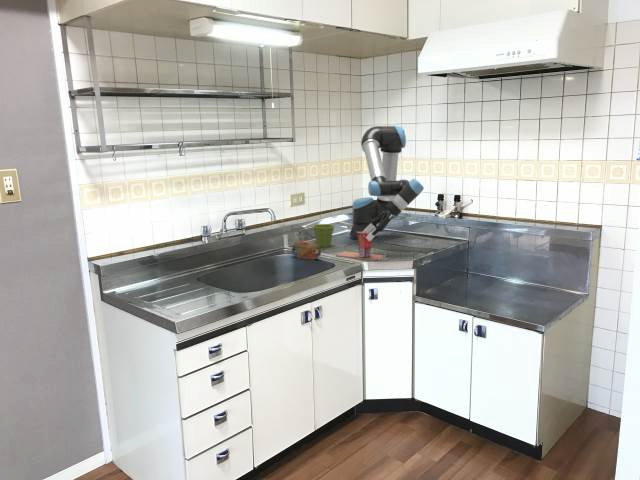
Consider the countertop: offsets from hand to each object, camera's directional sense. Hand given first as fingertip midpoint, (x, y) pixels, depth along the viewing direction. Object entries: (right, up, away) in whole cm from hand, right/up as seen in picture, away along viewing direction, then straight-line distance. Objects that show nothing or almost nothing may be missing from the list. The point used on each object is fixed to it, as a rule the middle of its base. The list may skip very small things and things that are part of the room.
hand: (365, 236), depth 258 cm
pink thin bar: (+1, -8, +9) cm, 12 cm away
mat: (-2, -10, +3) cm, 10 cm away
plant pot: (-20, -5, +27) cm, 34 cm away
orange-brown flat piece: (-29, -11, -1) cm, 31 cm away
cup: (-1, -10, -2) cm, 10 cm away
